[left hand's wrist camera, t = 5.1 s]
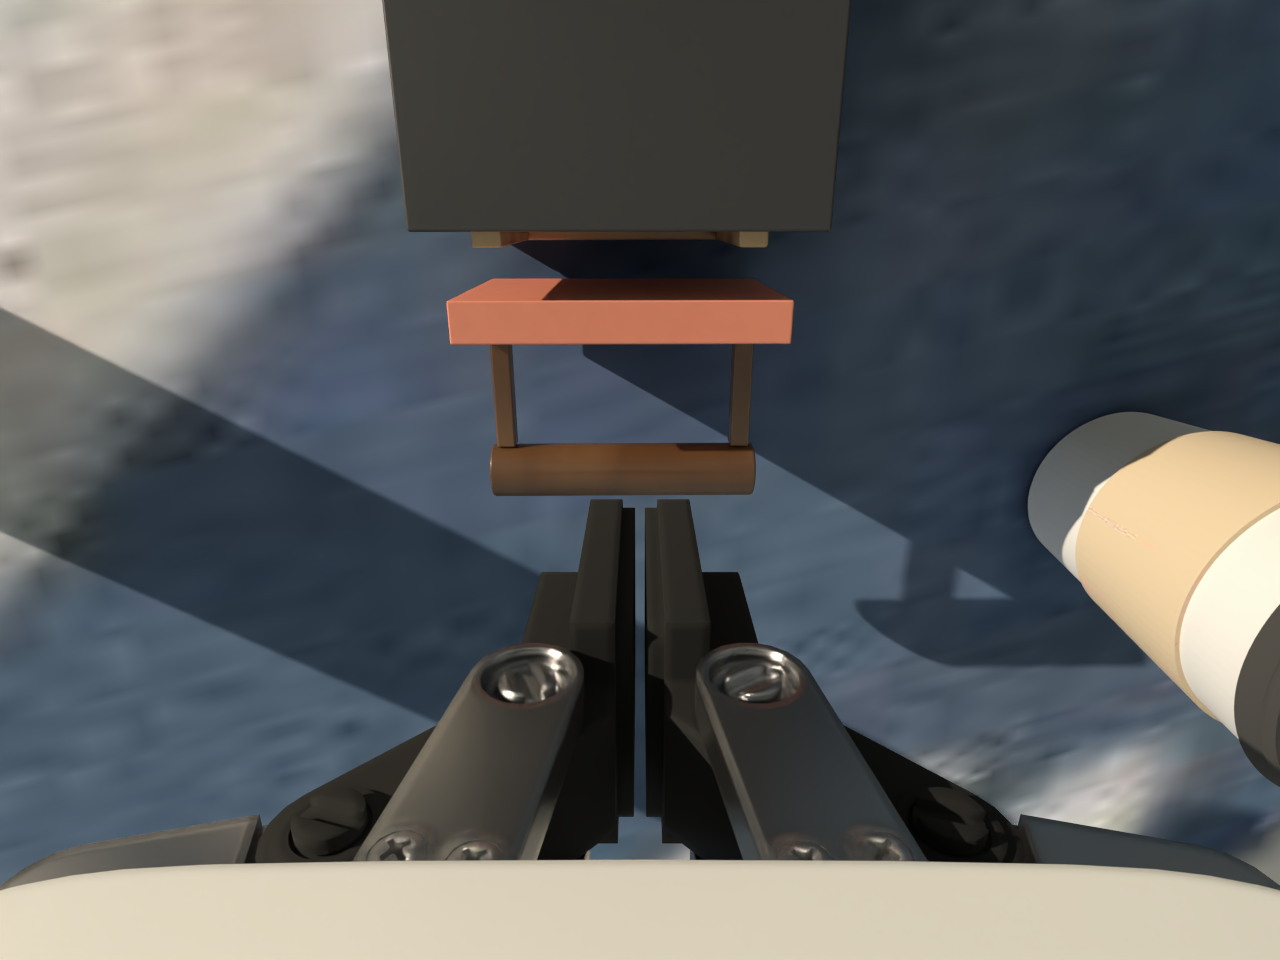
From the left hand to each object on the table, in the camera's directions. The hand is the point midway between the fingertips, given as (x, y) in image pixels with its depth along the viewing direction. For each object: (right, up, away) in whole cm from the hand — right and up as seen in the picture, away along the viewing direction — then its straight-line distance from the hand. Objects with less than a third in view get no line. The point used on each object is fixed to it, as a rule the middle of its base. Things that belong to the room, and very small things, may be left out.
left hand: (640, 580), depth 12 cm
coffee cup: (+20, +1, +18) cm, 27 cm away
